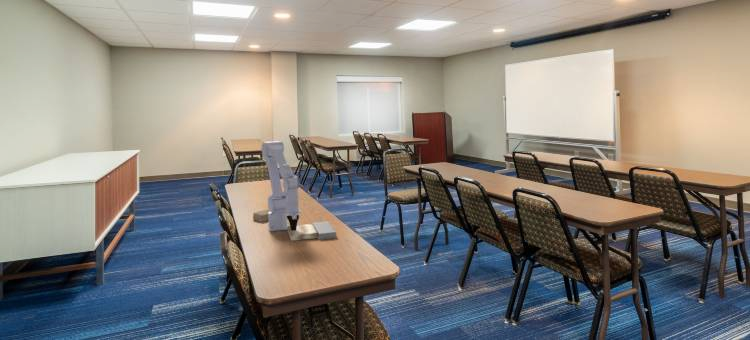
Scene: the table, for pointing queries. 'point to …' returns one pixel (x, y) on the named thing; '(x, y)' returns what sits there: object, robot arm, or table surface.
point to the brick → (261, 215)
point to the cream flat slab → (303, 232)
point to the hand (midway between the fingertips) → (293, 230)
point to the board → (324, 230)
